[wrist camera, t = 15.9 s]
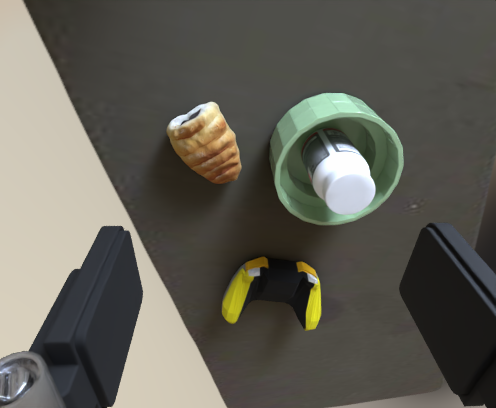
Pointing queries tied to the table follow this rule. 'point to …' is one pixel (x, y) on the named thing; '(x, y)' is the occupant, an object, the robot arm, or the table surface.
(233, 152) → the pastry
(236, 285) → the gaming controller
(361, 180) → the pill bottle
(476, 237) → the table surface
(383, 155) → the green bowl
